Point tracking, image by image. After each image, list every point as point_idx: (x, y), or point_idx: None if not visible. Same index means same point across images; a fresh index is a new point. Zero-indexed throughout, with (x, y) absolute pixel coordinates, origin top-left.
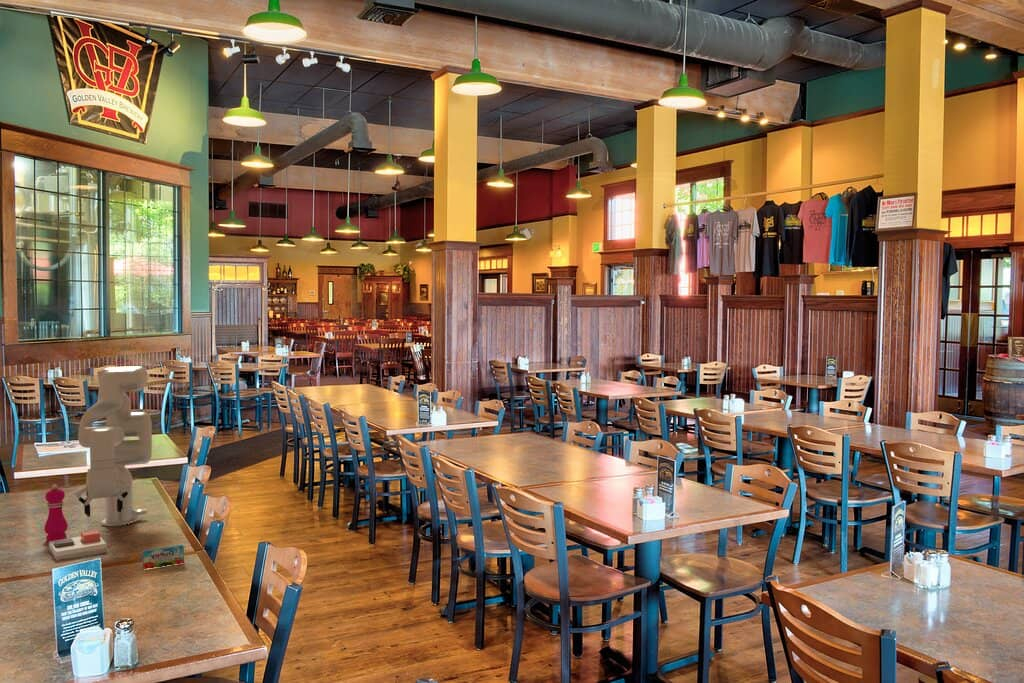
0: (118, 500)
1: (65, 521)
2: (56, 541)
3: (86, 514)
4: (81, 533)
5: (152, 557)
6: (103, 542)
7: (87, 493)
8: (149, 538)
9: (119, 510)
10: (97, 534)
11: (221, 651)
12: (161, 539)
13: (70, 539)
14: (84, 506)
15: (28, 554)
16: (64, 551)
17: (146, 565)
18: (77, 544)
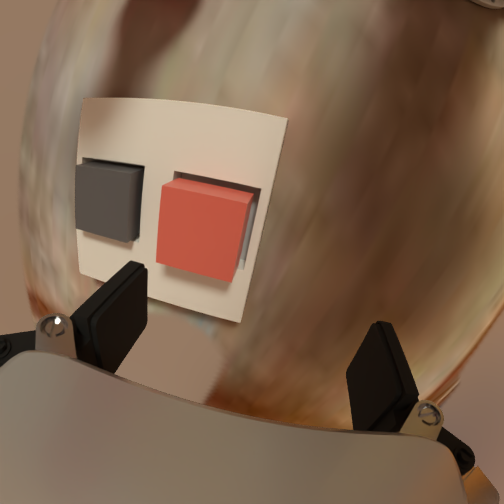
0: (375, 429)
1: None
2: (79, 182)
3: (129, 264)
4: (160, 203)
5: None
6: (236, 302)
7: (6, 367)
8: (443, 259)
9: (351, 381)
10: (220, 277)
11: None
12: (447, 304)
13: (123, 196)
14: (73, 321)
15: (56, 109)
16: (102, 278)
17: None
18: (146, 242)
